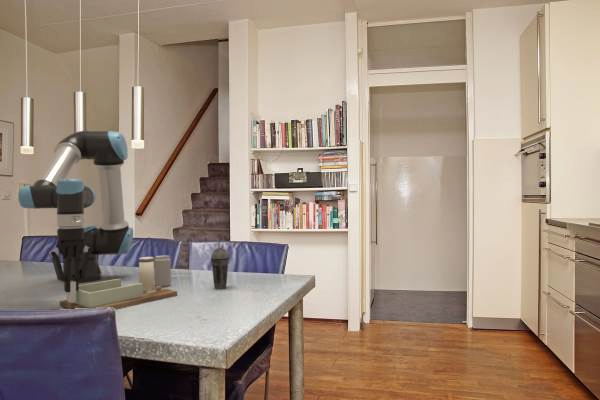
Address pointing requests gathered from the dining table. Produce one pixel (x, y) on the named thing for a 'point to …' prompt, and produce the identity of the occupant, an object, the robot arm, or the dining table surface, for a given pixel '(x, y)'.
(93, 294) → the pale green open frame
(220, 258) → the beverage cup
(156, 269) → the beverage can
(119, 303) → the board
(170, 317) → the dining table surface
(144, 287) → the beige rounded cylinder
